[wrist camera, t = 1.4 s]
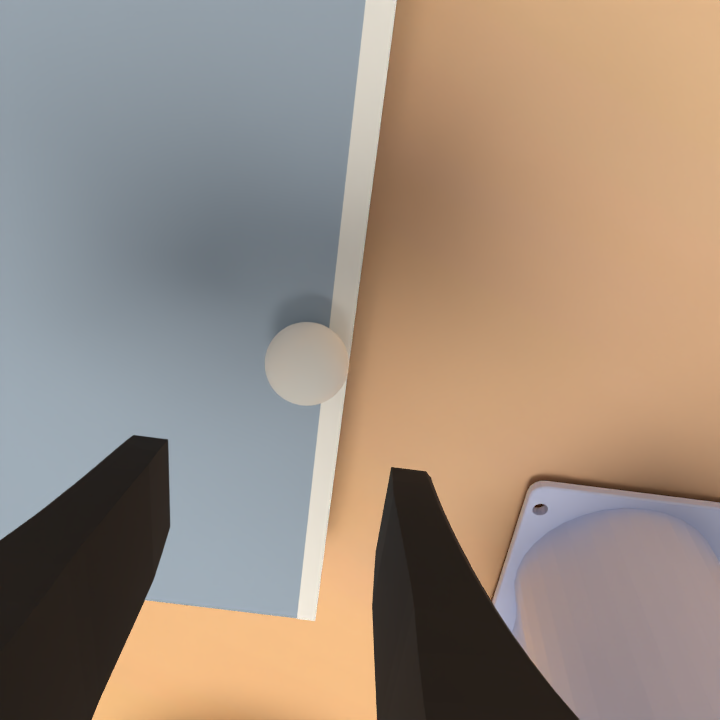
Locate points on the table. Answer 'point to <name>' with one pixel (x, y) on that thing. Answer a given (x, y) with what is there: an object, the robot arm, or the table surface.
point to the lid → (188, 267)
